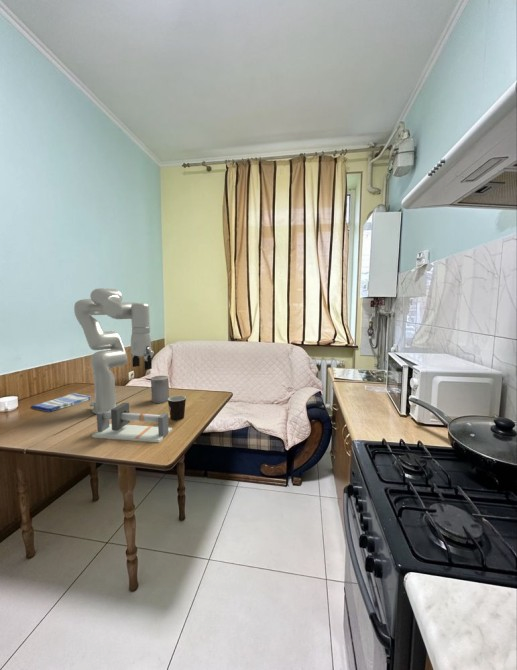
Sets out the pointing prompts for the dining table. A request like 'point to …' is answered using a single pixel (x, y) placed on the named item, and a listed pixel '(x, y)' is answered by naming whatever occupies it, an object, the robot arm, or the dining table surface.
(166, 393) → the pillar candle
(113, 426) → the collar
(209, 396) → the dining table surface
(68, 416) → the dining table surface
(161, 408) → the dining table surface
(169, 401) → the coffee mug
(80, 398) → the dish towel
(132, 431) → the pipe rig
